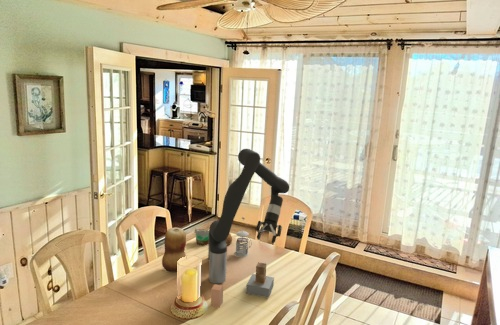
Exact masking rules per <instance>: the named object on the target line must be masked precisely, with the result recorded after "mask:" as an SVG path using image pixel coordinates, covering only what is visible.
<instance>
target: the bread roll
mask: <svg viewBox="0 0 500 325" xmlns="http://www.w3.org/2000/svg"><path fill="white" fill-rule="evenodd" d="M232 241H233V236H232V234H231V232H230V233H229V235H228V237H227V238H226V244H227V245H231V244H232Z"/></svg>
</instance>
